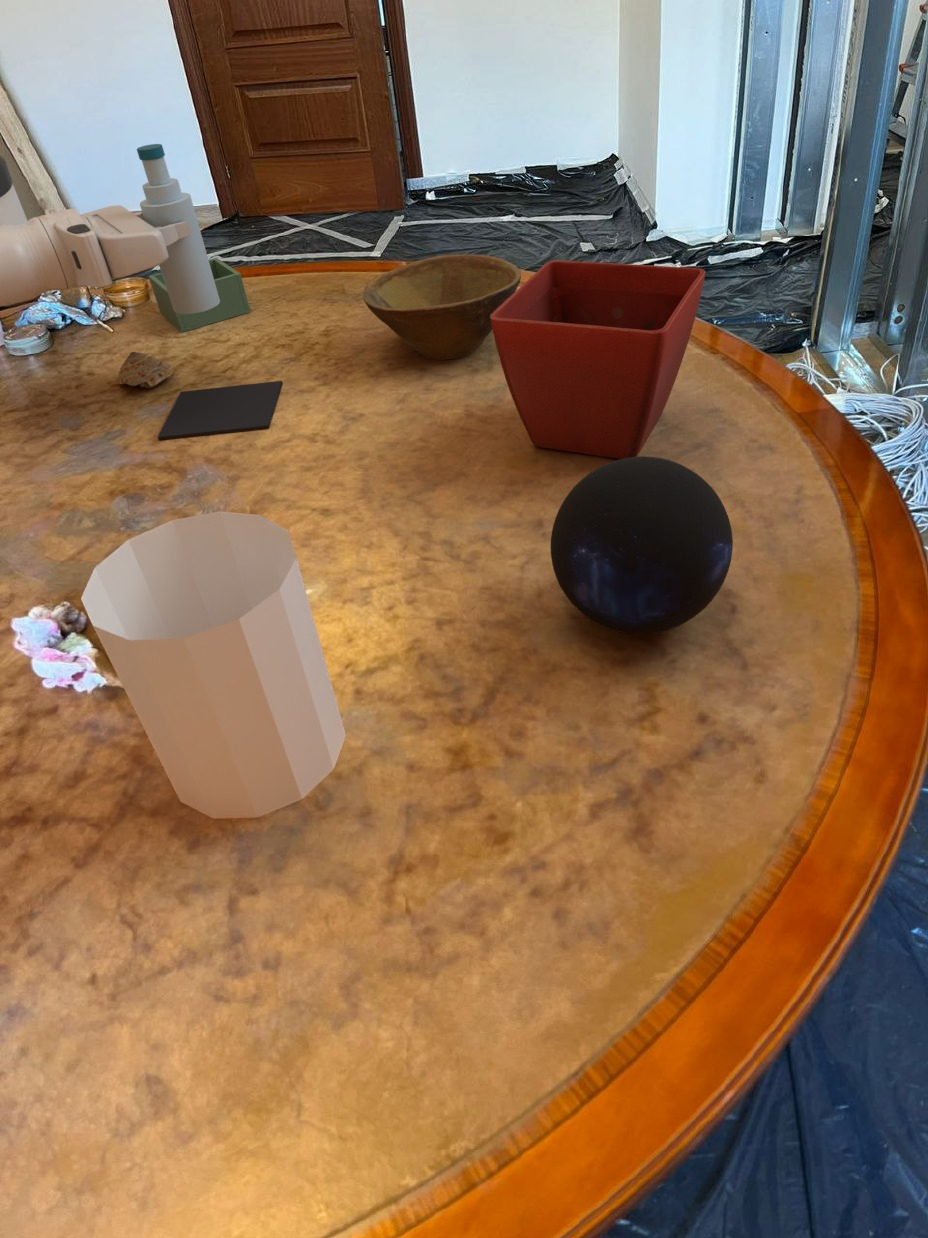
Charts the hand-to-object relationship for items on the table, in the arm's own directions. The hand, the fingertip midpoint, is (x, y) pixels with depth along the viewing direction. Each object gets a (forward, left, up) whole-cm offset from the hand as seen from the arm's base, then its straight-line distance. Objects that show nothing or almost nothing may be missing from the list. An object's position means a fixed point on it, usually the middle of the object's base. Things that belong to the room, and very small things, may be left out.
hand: (178, 221), depth 115 cm
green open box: (-9, +29, -22) cm, 37 cm away
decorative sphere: (+50, -64, -22) cm, 84 cm away
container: (+17, -76, -22) cm, 81 cm away
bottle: (-1, 0, -11) cm, 11 cm away
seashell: (-12, +1, -22) cm, 25 cm away
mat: (+2, -12, -22) cm, 25 cm away
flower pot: (+52, -29, -22) cm, 64 cm away
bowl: (+34, +2, -22) cm, 41 cm away
